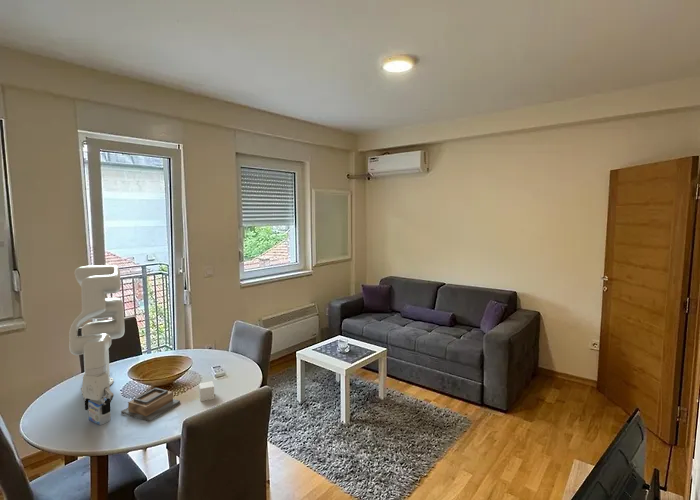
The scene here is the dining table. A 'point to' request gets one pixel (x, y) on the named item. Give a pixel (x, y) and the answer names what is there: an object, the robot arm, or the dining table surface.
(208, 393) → the white cube
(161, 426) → the dining table surface
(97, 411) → the medicine box
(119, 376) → the dining table surface
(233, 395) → the dining table surface
